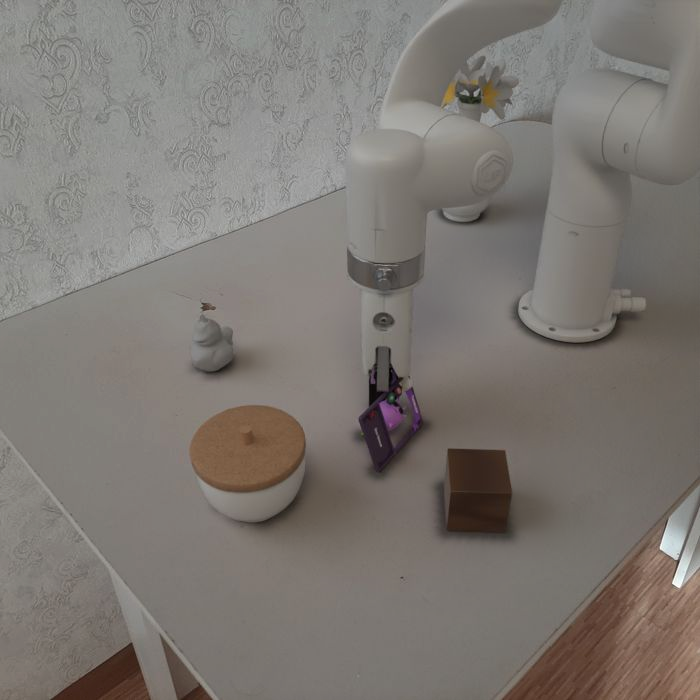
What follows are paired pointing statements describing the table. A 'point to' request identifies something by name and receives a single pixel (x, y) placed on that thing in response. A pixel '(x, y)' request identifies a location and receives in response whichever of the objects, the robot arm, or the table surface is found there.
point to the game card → (388, 422)
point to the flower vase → (478, 109)
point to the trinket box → (249, 461)
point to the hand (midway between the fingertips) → (383, 403)
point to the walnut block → (477, 490)
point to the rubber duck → (211, 345)
